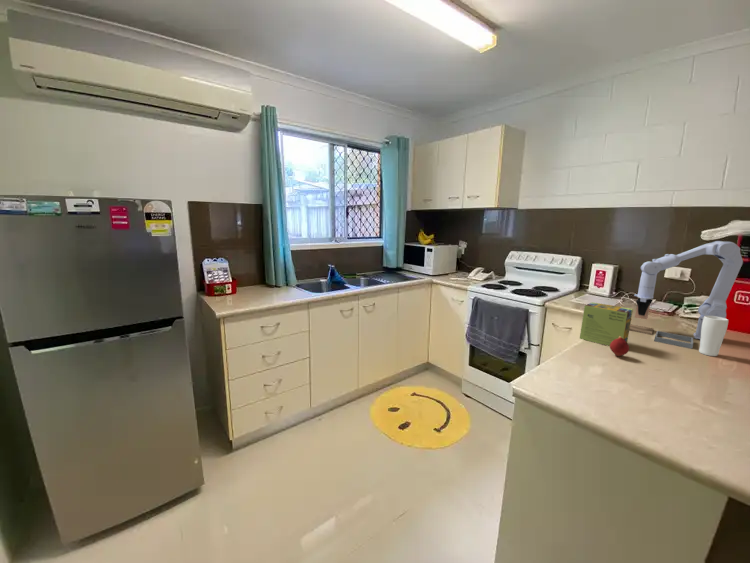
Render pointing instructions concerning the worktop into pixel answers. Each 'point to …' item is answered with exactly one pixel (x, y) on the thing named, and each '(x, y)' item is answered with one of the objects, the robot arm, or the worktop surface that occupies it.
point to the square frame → (673, 342)
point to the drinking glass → (712, 334)
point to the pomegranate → (619, 346)
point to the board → (641, 329)
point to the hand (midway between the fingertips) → (641, 314)
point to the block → (642, 315)
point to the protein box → (605, 323)
